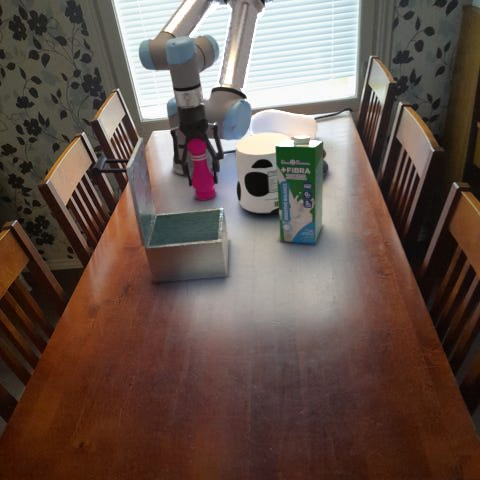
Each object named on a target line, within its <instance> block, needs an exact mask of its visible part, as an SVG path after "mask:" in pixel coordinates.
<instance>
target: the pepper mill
mask: <svg viewBox="0 0 480 480" xmlns="http://www.w3.org/2000/svg"><path fill="white" fill-rule="evenodd" d="M187 148H188V151H189V152H190V156H191V159H192V160H193V163H194V172H193V175H192V176H191V177H192V186H191V187H192V188H193V189H194V190H195V191H194V195H195V198H196V199H197V200H200V201H207V200H208V201H209V200H211V199H213V198H214V197H215V196H216V194H217V193H216V188H215V185H216V184H215V180H214V174H213V171H212V170H211V171H210V169H209V167H208V165H207V160H206V158H207V156H208V155H207V151H206V149H207V148H206V143H205V142H203V141H202V140H201V138H192V139H190V141H189V143H188V144H187Z"/></svg>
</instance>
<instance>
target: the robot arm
mask: <svg viewBox="0 0 480 480" xmlns="http://www.w3.org/2000/svg"><path fill="white" fill-rule="evenodd" d="M273 2H274V0H183V1H182V2H181V3H180V5H179V6H178V7H177V8H176V10H175V11H174V13H173V14H172V15H171V16H170V18H169V19H168V21H166V23H165V25H164V26H163V27H162V29H161V30H160V31H159V32H158V34H157V35H156V36H155V37H154V38H153V39H151V38H148V39H144V40H142V41H141V42H140V43H139V46H138V58H139V61H140V64H141V66H142V67H143V68H145V70H148V71H156V72H158V71H169V74H170V79H171V83H172V89H173V90H172V91H173V97H172V98H170V99H169V100H168V101H167V102H166V113H167V116H166V117H167V118H168V122H169V128H170V130H169V134H170V136H171V138H172V147H173V157H172V168H173V171H174V173H175V174H177V175H180V176H185V177H187V182H188V187H193V186H192V175H193V172H194V163H193V160H192V159H191V156H190V152H189V151H188V148H187V144H188V143H189V141H190V139H192V138H201V140H202V141H203V142H205V143H206V148H207V149H206V151H207V155H208V156H207V158H206V160H207V165H208V167H209V169H210V171H211V172H212V174H213V175H214V180H215V185H218V183H219V177H218V173H220V170H221V167H220V161H221V160H224V159H225V155H228V154H234V153H235V154H236V149H231V150H224V149H223V145H222V141H221V140H225V141H232V140H233V141H234V140H238V141H239V140H241V139H243V138H244V137H245V136H246V134H247V133H248V131H249V126H250V122H251V118H252V105H251V103H250V102H249V100H248V99H249V98H248V95H247V93H246V92H245V90H246V89H245V88H246V83H247V79H248V73H249V69H250V68H249V67H250V62H251V58H252V57H251V56H252V52H253V46H254V41H255V36H256V29H257V24H258V19H259V18H261V17H262V16H263V15H264V13H265V7H266V5H270V4H272V3H273ZM223 7H227V8H228V9H229V11H230V14H229V18H228V24H227V29H226V35H225V41H224V45H223V51H222V57H221V63H220V68H219V74H218V79H217V84H216V85H215V86H213V87H212V88H211V91H210V96H209V98H204V95H203V87H202V83H201V76H200V75H201V73H202V72H203V71H205V70H207V69H209V68H211V67H213V65H214V64H215V63H216V62H217V61H218V59H219V57H220V46H219V43H218V42H217V39H215V37H213V36H212V35H210V34H202V35H198V36H196V37H195V38H194V37H193V36H194V34H195V33H196V32H197V30H198V29H199V27H201V24H202V23H203V22H204V20H205V19H206V17H208V15H211V14H213V13H214V12H215V11H216V10H217V9H218V8H223ZM347 111H349V112H350V113H351V112H354V110H353V108H351V107H344V108H343V109H341V110H339V111H337V112H333V113H328V114H324V115H320V116H316V117H315V116H314V117H313V118H314V119H315V121H317V120H322V119H327V118H332V117H335V116H338V115H340V114H342V113H344V112H347ZM210 140H214V143H215V146H216V150H217V151H216V150H215V148H214V146H213V144H212V142H211V141H210Z"/></svg>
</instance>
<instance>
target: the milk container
mask: <svg viewBox="0 0 480 480" xmlns="http://www.w3.org/2000/svg"><path fill="white" fill-rule="evenodd" d="M286 140H291V138H290V137H288V136H287V135H284V134H281V133H272V132H271V133H259V134H253V135H252V134H251V135H248V136H244V137H242V138H241V139H238V141H237V142H236V144H235V150H236V153H235V164H236V170H237V183H236V198H237V201H238V204H239V205H240V206H241V207H242V209H243V210H245V211H247V212H249V213H251V214H256V215H272V214H277V213H278V214H279V203H278V185H277V167H276V149H275V146H277V145H278V144H280V143H282V142H284V141H286Z"/></svg>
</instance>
